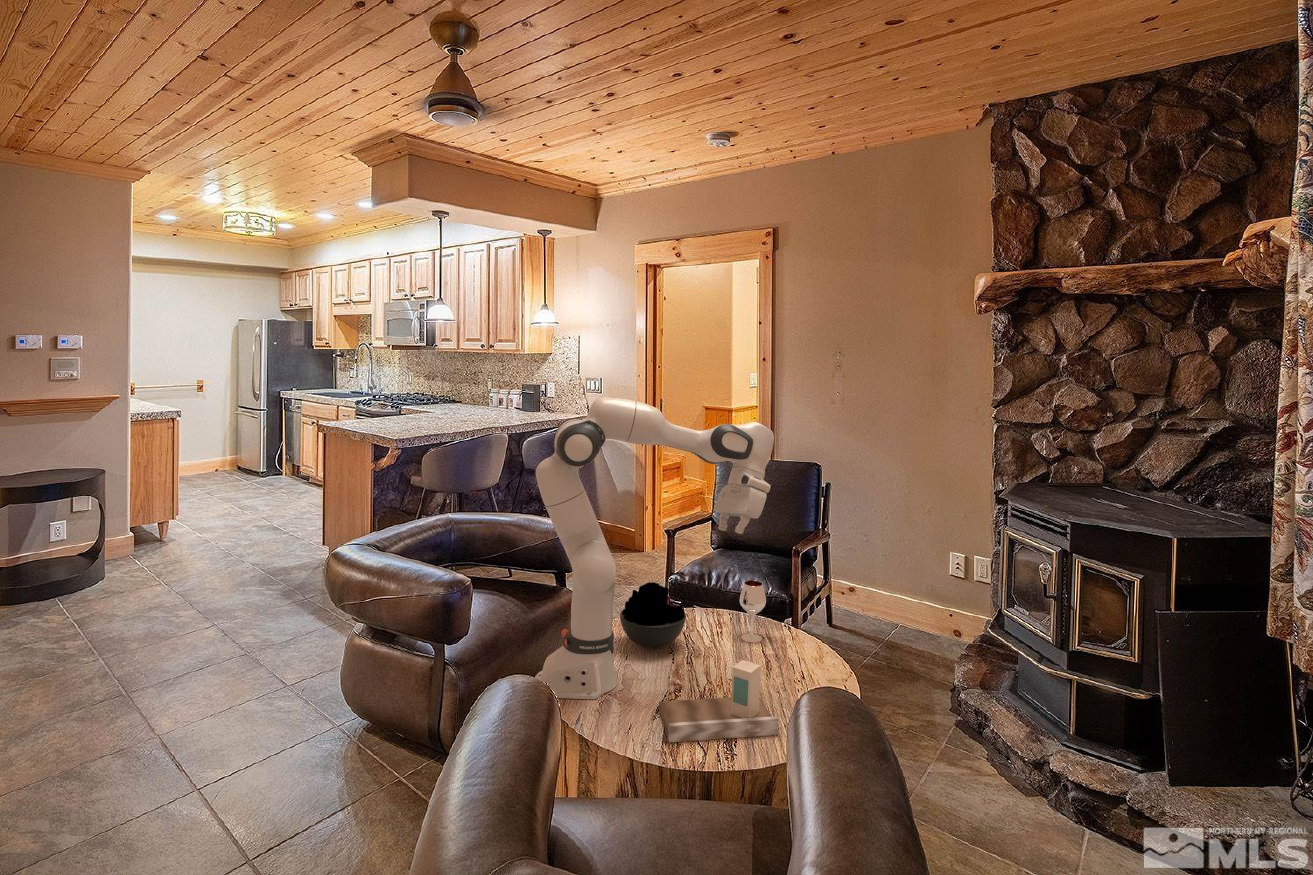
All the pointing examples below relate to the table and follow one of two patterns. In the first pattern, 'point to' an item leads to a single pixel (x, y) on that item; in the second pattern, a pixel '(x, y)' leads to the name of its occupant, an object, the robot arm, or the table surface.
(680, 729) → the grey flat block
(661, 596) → the coal bowl
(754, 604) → the wineglass
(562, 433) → the robot arm
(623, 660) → the table surface
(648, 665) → the table surface
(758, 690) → the carton
